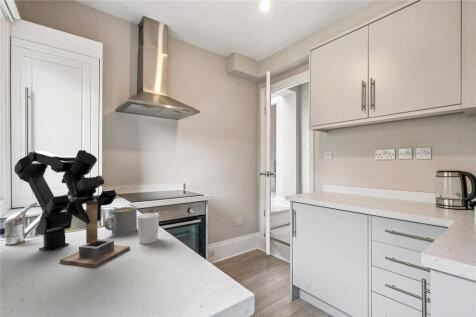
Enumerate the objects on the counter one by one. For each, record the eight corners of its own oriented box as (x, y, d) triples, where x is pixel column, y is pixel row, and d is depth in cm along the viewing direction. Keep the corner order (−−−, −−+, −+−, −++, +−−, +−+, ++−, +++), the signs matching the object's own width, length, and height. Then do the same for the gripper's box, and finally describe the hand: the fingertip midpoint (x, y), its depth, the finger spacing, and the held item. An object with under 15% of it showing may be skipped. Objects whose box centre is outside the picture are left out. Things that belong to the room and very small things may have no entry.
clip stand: (59, 262, 70) (59, 250, 70) (98, 245, 84) (98, 235, 84) (95, 267, 66) (95, 254, 67) (129, 249, 80) (129, 238, 80)
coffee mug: (131, 226, 108) (131, 205, 108) (140, 231, 101) (140, 208, 101) (100, 233, 98) (99, 210, 98) (107, 239, 91) (107, 214, 91)
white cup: (151, 245, 84) (151, 218, 84) (133, 243, 85) (132, 217, 85) (162, 237, 92) (162, 213, 92) (145, 236, 93) (145, 212, 93)
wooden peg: (83, 242, 70) (83, 201, 70) (92, 239, 73) (92, 199, 73) (91, 243, 69) (91, 202, 69) (99, 240, 72) (99, 200, 72)
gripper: (50, 169, 65) (67, 212, 60) (114, 167, 81) (132, 200, 75) (40, 194, 70) (55, 236, 64) (102, 187, 85) (119, 220, 80)
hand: (94, 221), depth 71 cm, fingers closed on wooden peg, 3 cm apart
